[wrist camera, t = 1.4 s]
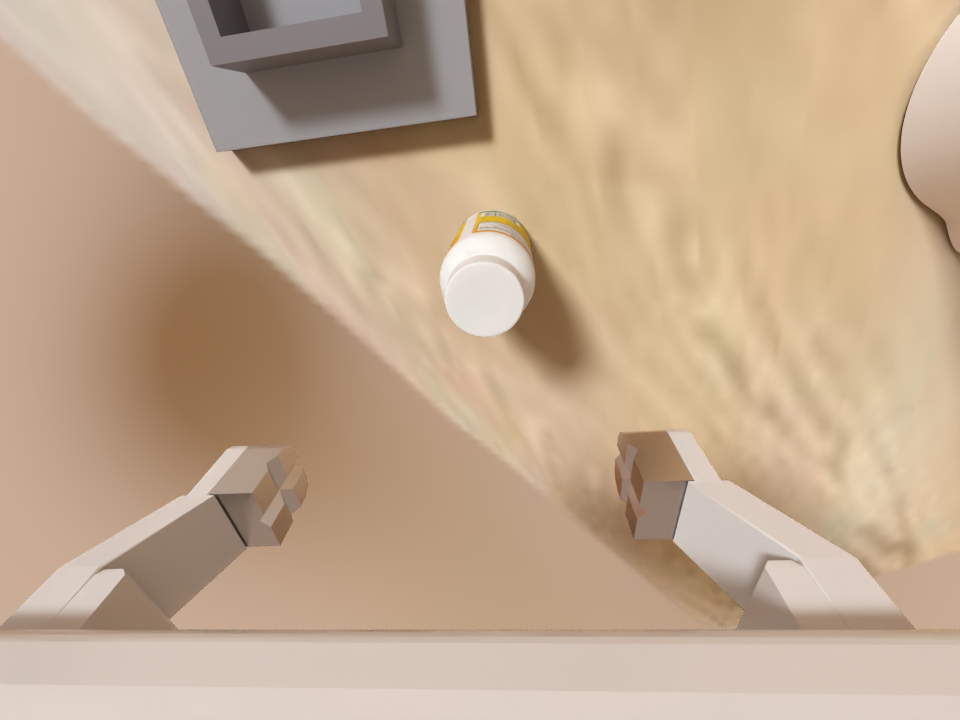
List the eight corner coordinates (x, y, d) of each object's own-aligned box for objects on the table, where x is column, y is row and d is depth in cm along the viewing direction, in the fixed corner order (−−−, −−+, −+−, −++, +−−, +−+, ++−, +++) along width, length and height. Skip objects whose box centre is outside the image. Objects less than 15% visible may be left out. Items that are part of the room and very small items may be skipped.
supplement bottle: (510, 193, 26) (511, 225, 17) (542, 265, 28) (557, 324, 20) (439, 231, 27) (410, 277, 19) (475, 297, 30) (463, 363, 21)
